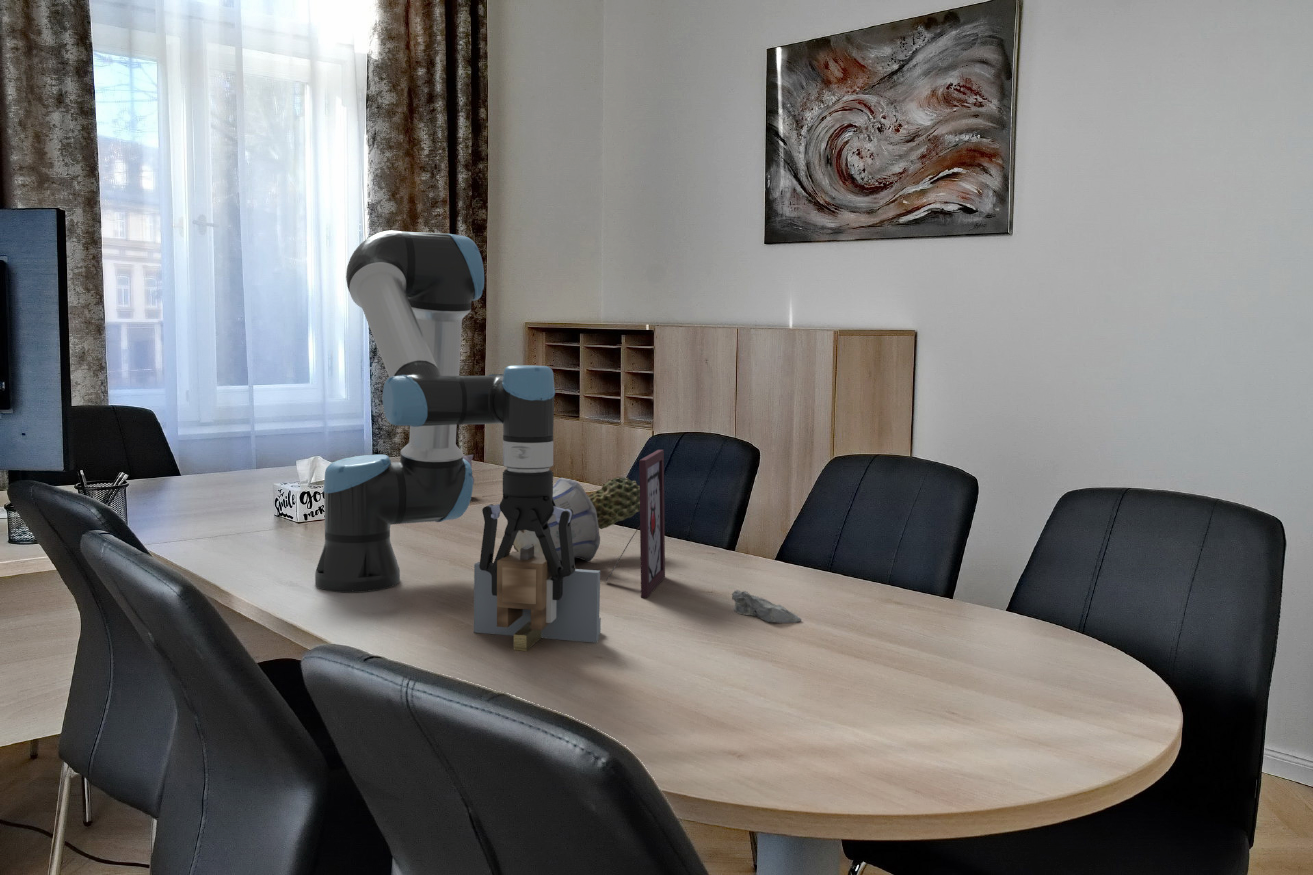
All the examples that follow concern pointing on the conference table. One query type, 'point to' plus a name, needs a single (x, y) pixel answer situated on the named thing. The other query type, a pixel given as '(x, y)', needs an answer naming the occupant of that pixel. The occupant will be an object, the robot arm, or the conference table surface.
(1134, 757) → the conference table surface
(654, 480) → the picture frame
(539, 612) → the cabinet block
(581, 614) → the wall board
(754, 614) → the stone
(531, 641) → the rail
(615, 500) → the potted plant
